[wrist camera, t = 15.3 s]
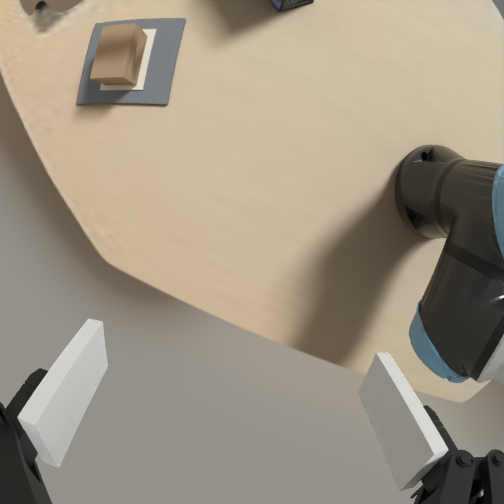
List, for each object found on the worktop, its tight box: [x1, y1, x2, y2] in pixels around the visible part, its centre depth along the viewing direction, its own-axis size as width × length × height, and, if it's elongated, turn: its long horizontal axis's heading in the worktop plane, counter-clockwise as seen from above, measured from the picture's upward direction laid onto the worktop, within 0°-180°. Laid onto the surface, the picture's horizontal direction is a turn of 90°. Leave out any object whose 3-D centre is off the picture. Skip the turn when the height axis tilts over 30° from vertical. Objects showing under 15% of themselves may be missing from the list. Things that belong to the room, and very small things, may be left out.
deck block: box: [90, 23, 148, 86], centre depth 32 cm, size 8×5×6 cm, turn 171°
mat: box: [77, 18, 186, 105], centre depth 35 cm, size 15×14×1 cm
